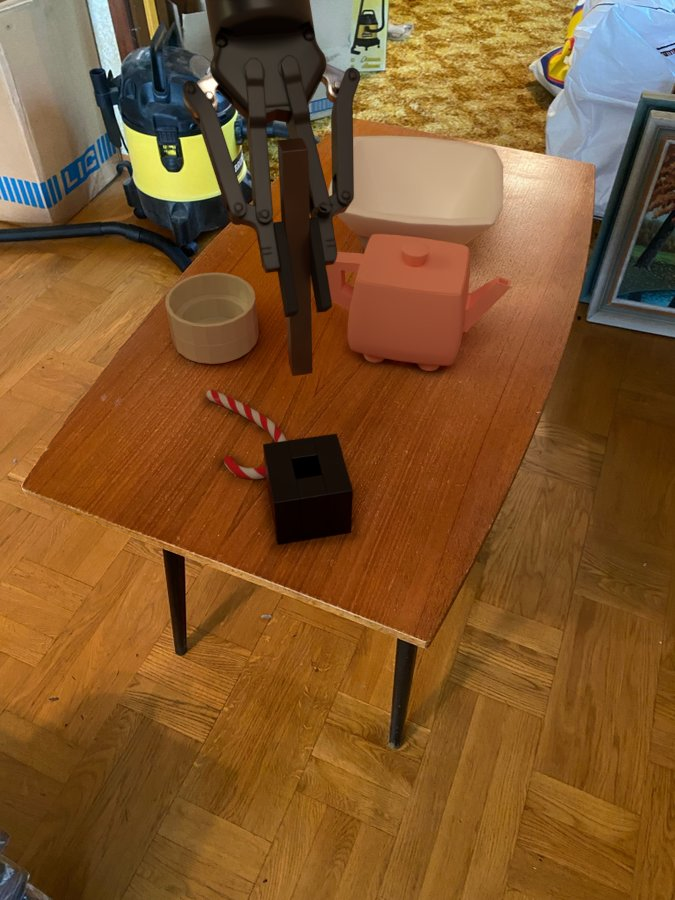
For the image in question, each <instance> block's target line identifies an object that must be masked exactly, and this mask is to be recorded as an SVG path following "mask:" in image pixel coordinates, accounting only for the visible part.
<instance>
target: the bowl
mask: <svg viewBox="0 0 675 900" xmlns="http://www.w3.org/2000/svg"><path fill="white" fill-rule="evenodd" d="M353 163H354V198H353V201H352V202H351V204H350V205H349V207H348V208H347V210H346V211H345V212H343V213H339V214H338V215H336V216H337V217H338V219H340V220H341V221H342V222H343V223H344V224H345V225H346V226H347V227H348V228H349V229H350V230H351V231H352V232H353V233H354V234H355V235H357V236H358V238H359V241H360V245H361V246H362V249H363V250H364V252H365V249H366V246H367V244H368V241H369V239H370V237H371V236H372V235H373V234H389V235H400V236H409V237H418V238H425V239H432V240H439V241H445V242H451V243H456V244H461V245H465V246H466V245H467V244H468V243H469V242H471V241H473V240H474V239H476V238H477V237H478V236H480V235H482V234H483V233H485V232H486V231H488V230H489V229H490V228H492V227H493V226H495V224H496V221H497V219H498V217H499V216H500V213H501V212H502V210H503V208H504V163H503V162H502V159H501V158H500V155H499V154H498V152H497V149H495V148H494V147H491V146H485V145H481V144H476V143H470V142H466V141H458V140H450V139H443V138H436V137H429V136H428V137H426V136H408V135H407V136H406V135H384V134H383V135H358V136H353ZM327 190H328V194H329V196H331V195H332V179H331V181H330V184H329V187H328V189H327Z"/></svg>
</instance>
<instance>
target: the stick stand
mask: <svg viewBox="0 0 675 900" xmlns="http://www.w3.org/2000/svg"><path fill="white" fill-rule="evenodd" d="M262 450H263V451H262V452H263V459H264V465H265V471H266V477H265V480H266V481H265V482H266V489H267V494H268V495H267V496H268V500H269V505H270V506H269V507H270V511H271V516H272V521H273V527H274V531H275V533H274V534H275V538H276V543H277V545H278V546H280V545H286V544H292V543H299V542H303V541H310V540H316V539H322V538H327V537H334V536H339V535H346V534H347V535H348V534H352V524H353V523H352V521H353V501H354V499H353V497H354V488H353V485H352V482H351V478H350V474H349V471H348V467H347V464H346V461H345V457H344V454H343V450H342V447H341V444H340V440H339V435H338V433H329V434H322V435H317V436H316V435H315V436H310V437H309V436H308V437H302V438H295V439H289V440H288V439H287V440H286V441H281V442H275V441H274V442H269V443H268V442H267V443H263V444H262Z"/></svg>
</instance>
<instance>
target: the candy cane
mask: <svg viewBox="0 0 675 900" xmlns="http://www.w3.org/2000/svg"><path fill="white" fill-rule="evenodd" d="M205 398H206V399H207V400H209V401H210V402H212V403H215V404H217V405H220V406H221V407H224V408H226V409H229V410H230V411H232V412H234V413H235V414H238V415H240V416H242V417H244V418H245V419H247V420H249V421H250V422H252V423H254V424H256V425H257V426H259V427H260V428H261V429H262V430H264V432H266V433H267V434H268V435H270V436H271V438H272V439H273V440H274V442H281V441H287V438H286V436H285V435H284V433H283V431H282V430H281V429H280V428H279V427H278V426H277V425H276V423H274V422H273V421H272V420H271V419H270V418H268V417H267V416H265V415H263V414H262V413H261V412H259V411H257V410H256V409H254V408H252V407H250V406H248V405H246V404H244V403H242V402H241V401H239V400H236V399H235V398H232V397H230V396H228V395H226V394H224V393H220V392H219V391H216V390H213V389H208V390H207V391H206V393H205ZM223 463H224V466H225V468H227V470H228V471H229V472H230V473H231V474H232V475H235V476H236V477H239V478H240V479H241V478H242V479H245V480H246V479H247V480H260V479H261V480H262V479H266V471H265V464H264V465H261V466H259V467H245V466H241V465H240V464H239V463H237V462H236V460H235V459H234V457H233V456H231V455H227V456H225V457H224V459H223Z"/></svg>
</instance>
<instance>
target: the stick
mask: <svg viewBox="0 0 675 900" xmlns="http://www.w3.org/2000/svg"><path fill="white" fill-rule="evenodd" d="M276 143H277V162H278V179H279V180H278V181H279V182H278V183H279V199H280V200H279V202H280V218H281V219H280V221H284V225H285V231H286V234H287V240H288V246H289V253H290V259H291V265H292V271H293V277H294V283H295V289H296V295H297V301H298V307H299V312H298V313H297V314H296V315H295V316H292V317H285V318H286V335H287V336H286V337H287V338H286V339H287V354H288V355H287V356H288V359H287V360H288V366H289V370H290V372H291V375H292V377H297V376H305V375H309V374H313V372H314V371H313V320H312V319H313V317H312V315H313V314H312V280H311V268H310V218H311V216H310V201H309V150H308V148H307V145H306V143H305V141H304V139H303V138H296V139H291V138H287V139H278V140H277V142H276Z"/></svg>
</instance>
